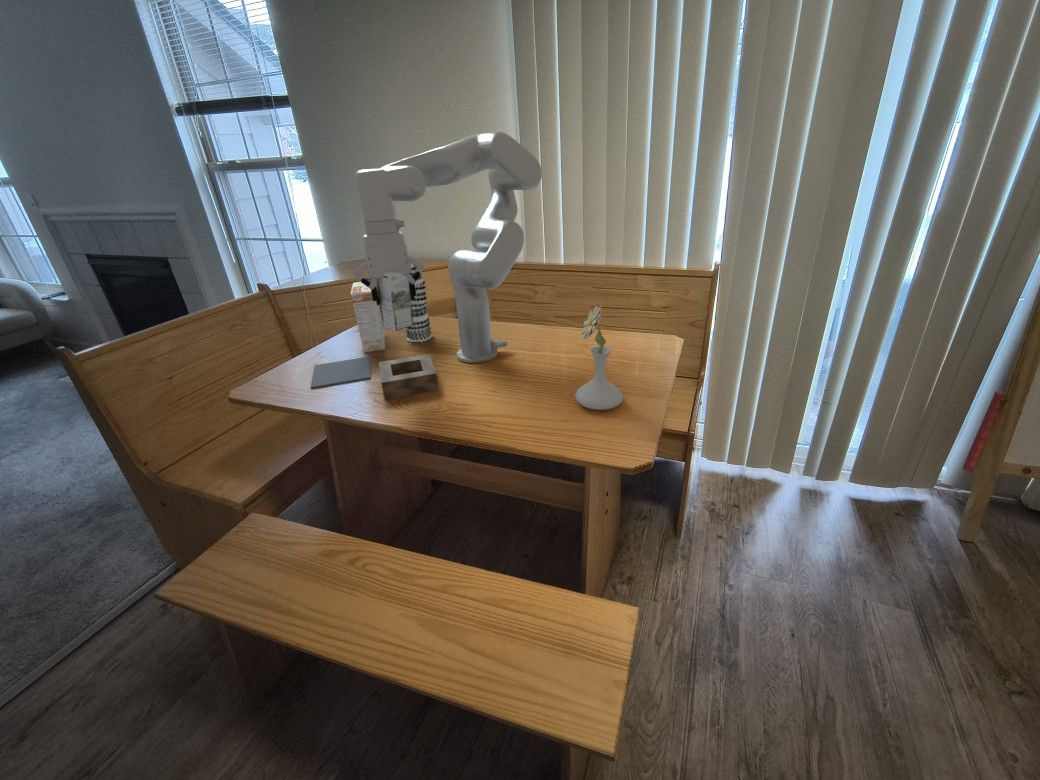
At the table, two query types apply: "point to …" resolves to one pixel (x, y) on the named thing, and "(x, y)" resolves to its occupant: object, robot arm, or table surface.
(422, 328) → the black and white tower
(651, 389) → the table surface
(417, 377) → the walnut pocket holder
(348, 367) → the charcoal mat
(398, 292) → the syrup box
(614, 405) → the flower in vase
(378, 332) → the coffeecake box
